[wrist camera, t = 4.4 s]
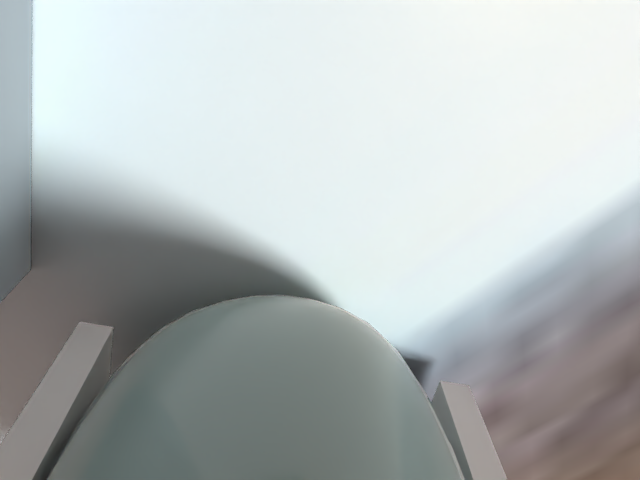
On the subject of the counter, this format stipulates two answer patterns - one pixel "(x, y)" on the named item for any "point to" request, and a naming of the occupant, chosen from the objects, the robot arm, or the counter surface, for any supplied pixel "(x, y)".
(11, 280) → the grey drawer box
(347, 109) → the counter surface
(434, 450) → the cup
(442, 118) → the counter surface
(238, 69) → the counter surface
